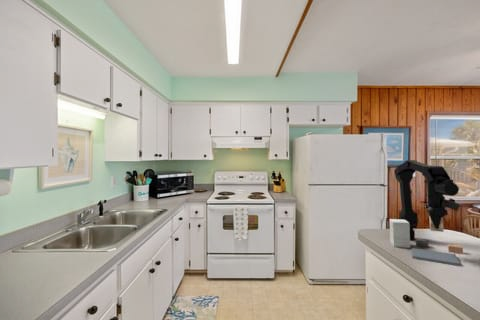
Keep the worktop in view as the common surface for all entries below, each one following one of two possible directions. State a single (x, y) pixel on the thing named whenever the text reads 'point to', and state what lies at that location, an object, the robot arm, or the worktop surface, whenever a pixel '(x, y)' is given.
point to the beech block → (434, 226)
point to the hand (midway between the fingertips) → (436, 227)
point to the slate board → (435, 256)
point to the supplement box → (400, 233)
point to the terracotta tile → (455, 249)
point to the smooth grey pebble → (422, 243)
